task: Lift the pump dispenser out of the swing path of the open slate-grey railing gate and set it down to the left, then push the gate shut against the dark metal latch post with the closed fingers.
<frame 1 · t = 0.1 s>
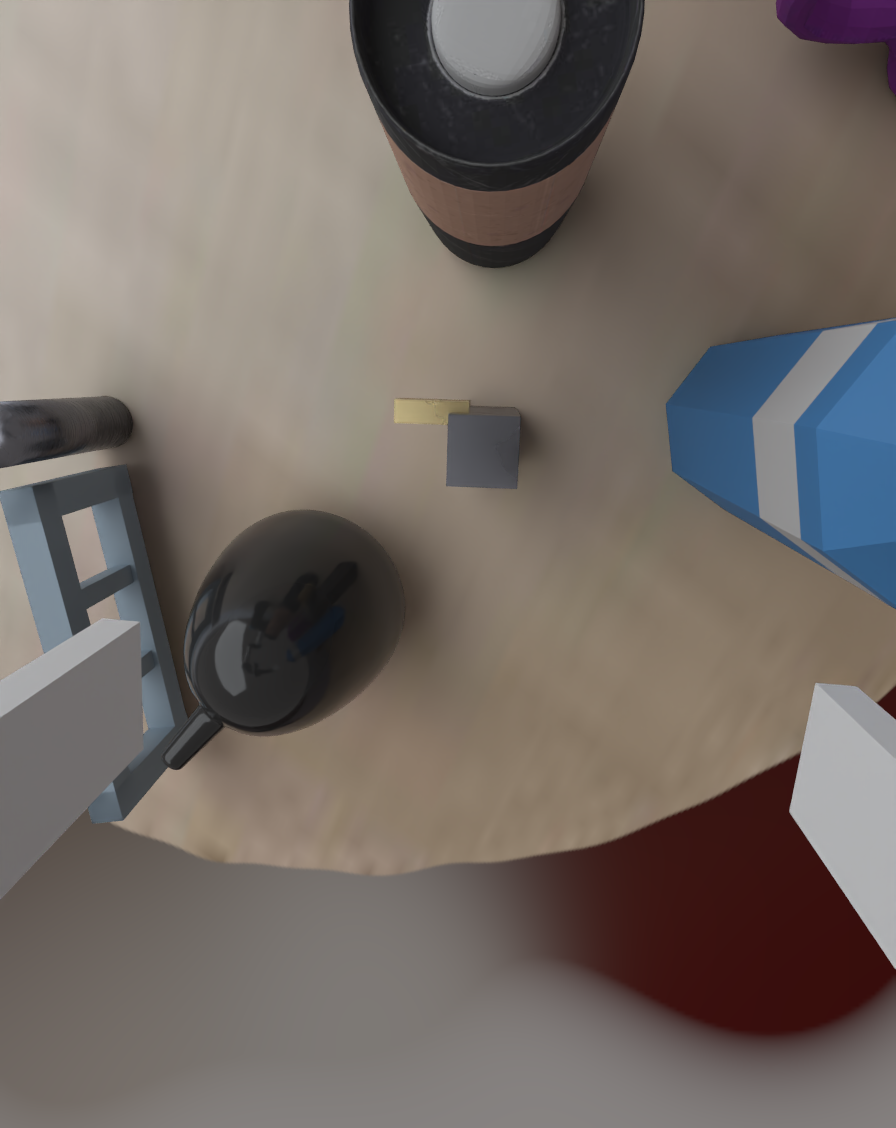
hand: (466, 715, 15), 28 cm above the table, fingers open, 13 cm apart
latch post: (486, 434, 41), on the table
hinge post: (107, 422, 42), on the table
water bottle: (750, 424, 40), on the table
gate: (110, 633, 40), point 5 cm above the table, hinge at 80.0°
travel mug: (495, 194, 38), on the table
pump dispenser: (324, 586, 44), on the table
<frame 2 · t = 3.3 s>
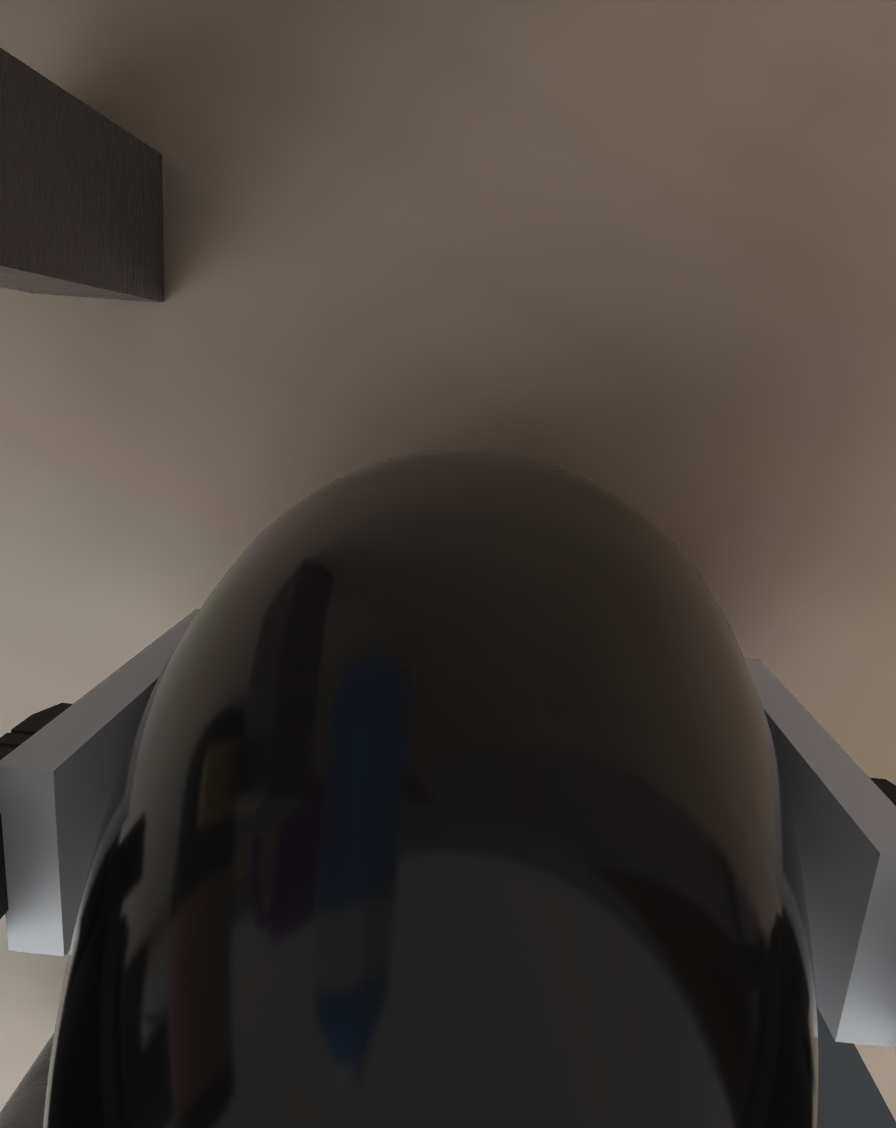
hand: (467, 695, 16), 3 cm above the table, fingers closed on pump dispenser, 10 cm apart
latch post: (95, 225, 17), on the table
hinge post: (124, 1015, 22), on the table
pump dispenser: (472, 646, 19), on the table, touching gripper
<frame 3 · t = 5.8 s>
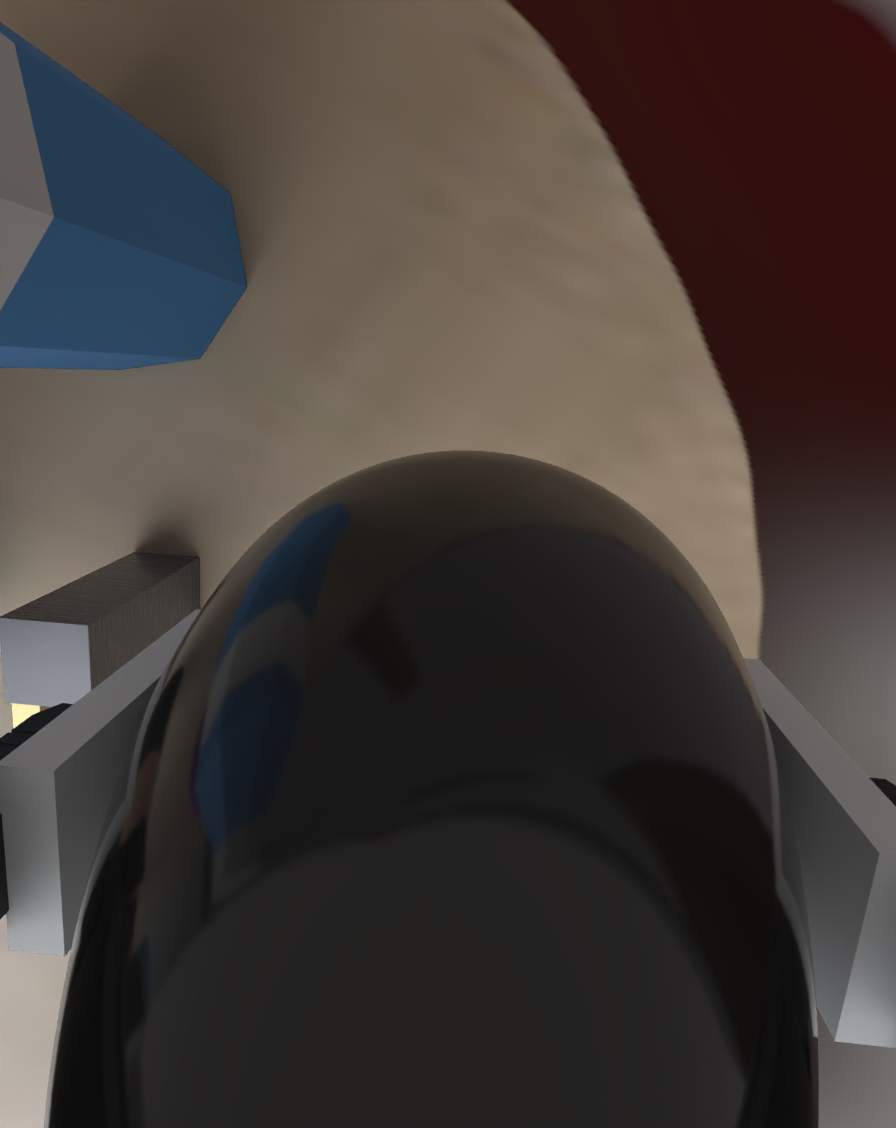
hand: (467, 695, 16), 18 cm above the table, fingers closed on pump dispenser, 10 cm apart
latch post: (167, 587, 34), on the table
water bottle: (138, 256, 31), on the table
pump dispenser: (472, 647, 19), point 15 cm above the table, touching gripper
when the fingers open (4 cm above the table, at t = 8.5 s): pump dispenser stays where it is, on the table.
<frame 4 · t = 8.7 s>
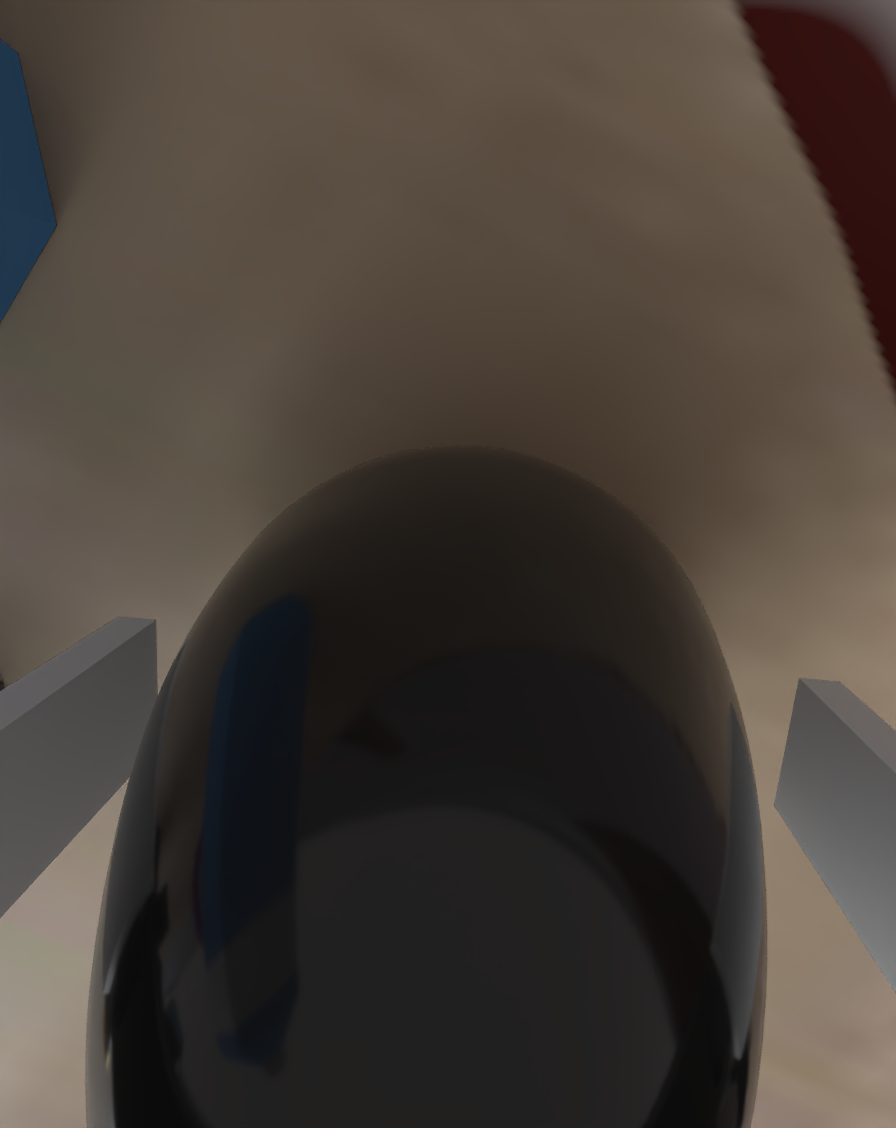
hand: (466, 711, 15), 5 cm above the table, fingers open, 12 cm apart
pump dispenser: (468, 633, 20), on the table
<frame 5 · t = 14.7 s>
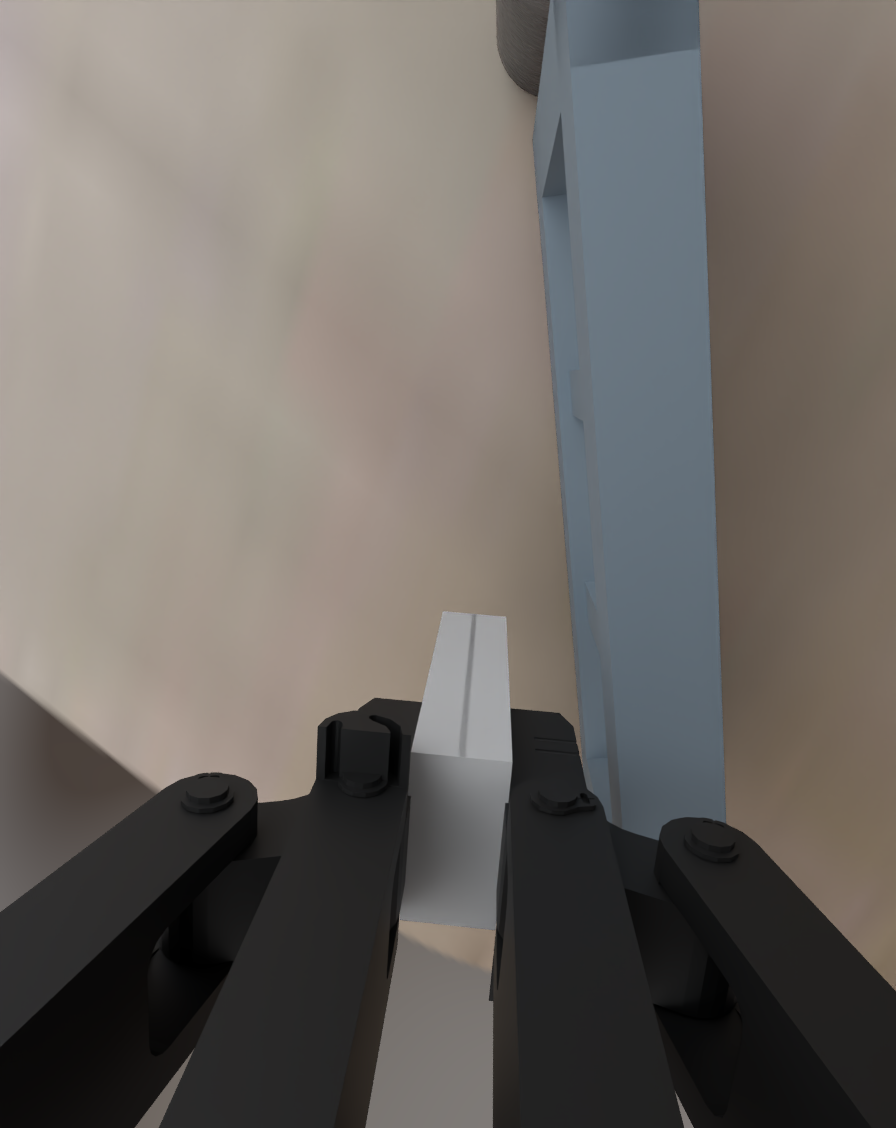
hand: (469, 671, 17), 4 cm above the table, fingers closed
hinge post: (556, 31, 18), on the table
gate: (617, 519, 15), point 5 cm above the table, hinge at 78.7°, touching gripper
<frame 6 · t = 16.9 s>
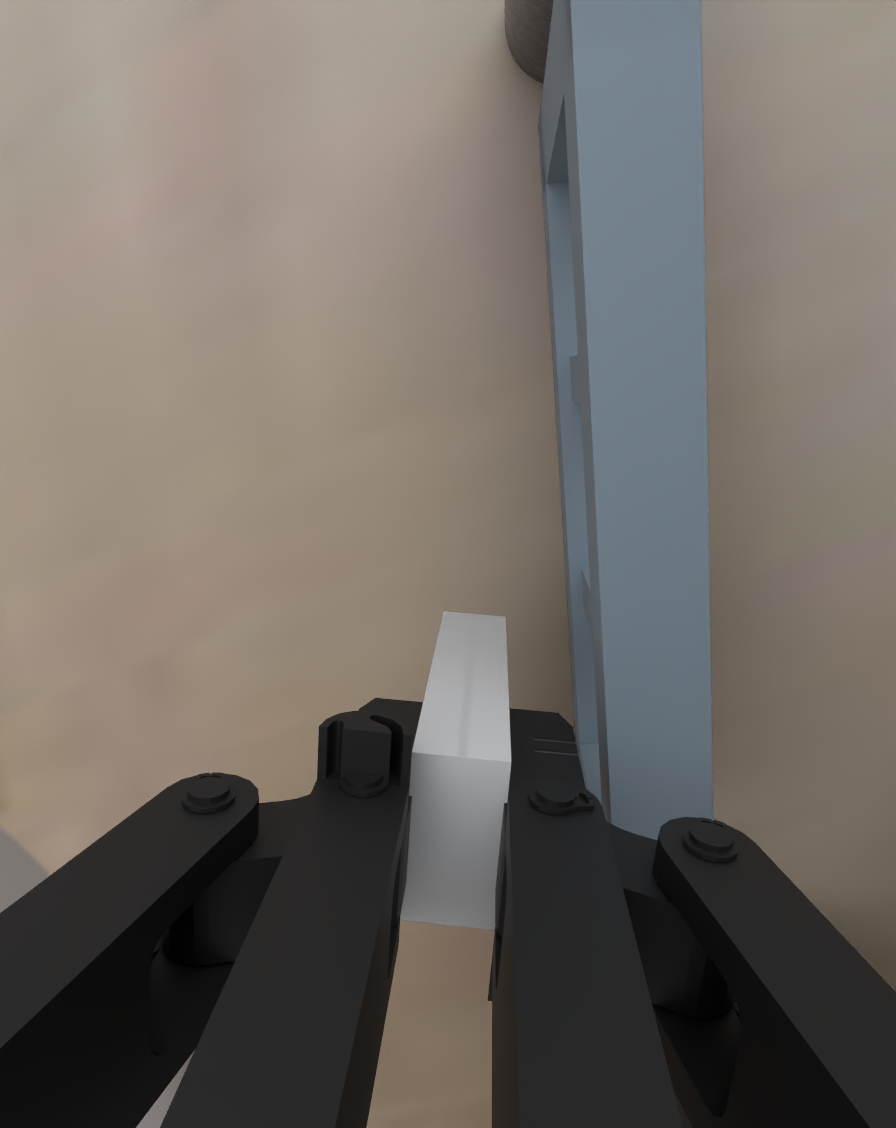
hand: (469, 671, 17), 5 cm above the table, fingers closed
hinge post: (564, 19, 18), on the table
gate: (613, 503, 15), point 5 cm above the table, hinge at 34.6°, touching gripper
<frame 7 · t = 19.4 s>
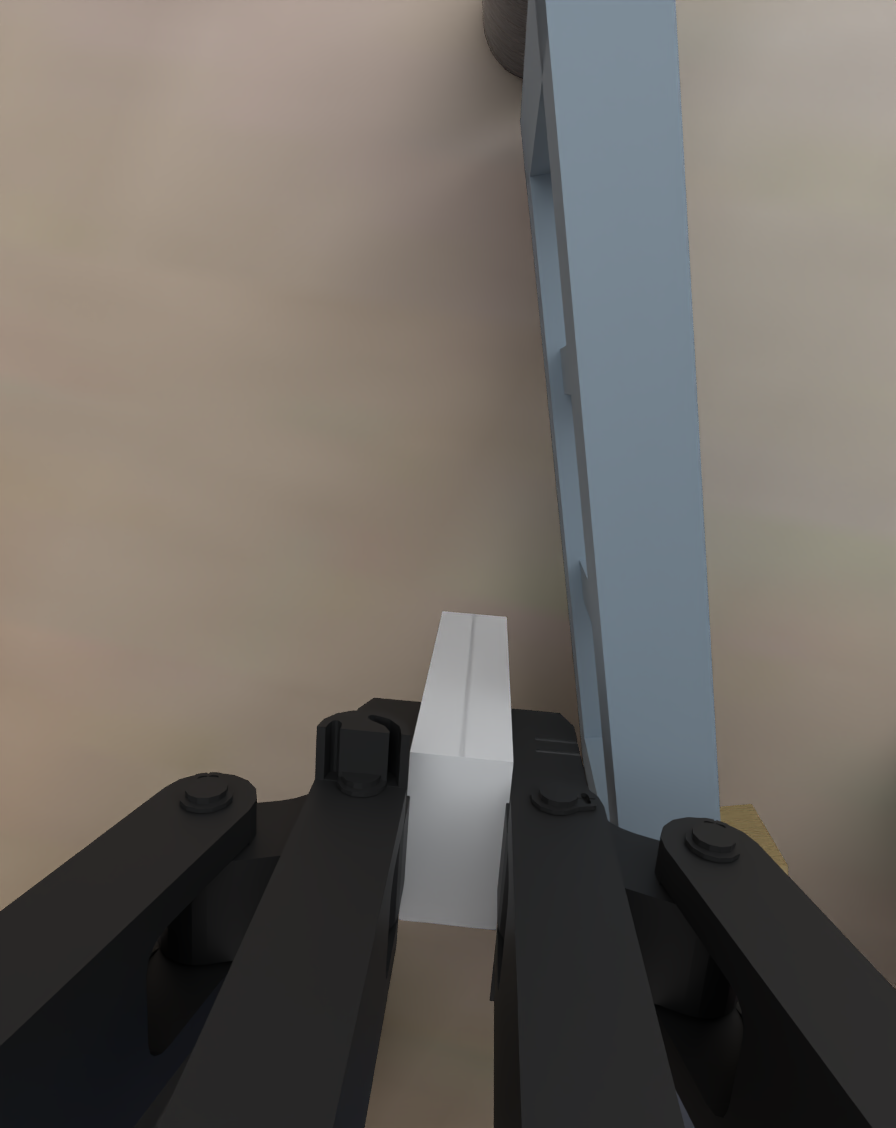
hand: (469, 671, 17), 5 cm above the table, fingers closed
latch post: (619, 809, 23), on the table
hinge post: (542, 14, 18), on the table
gate: (608, 492, 15), point 5 cm above the table, hinge at 0.5°, touching gripper
pump dispenser: (205, 949, 25), on the table
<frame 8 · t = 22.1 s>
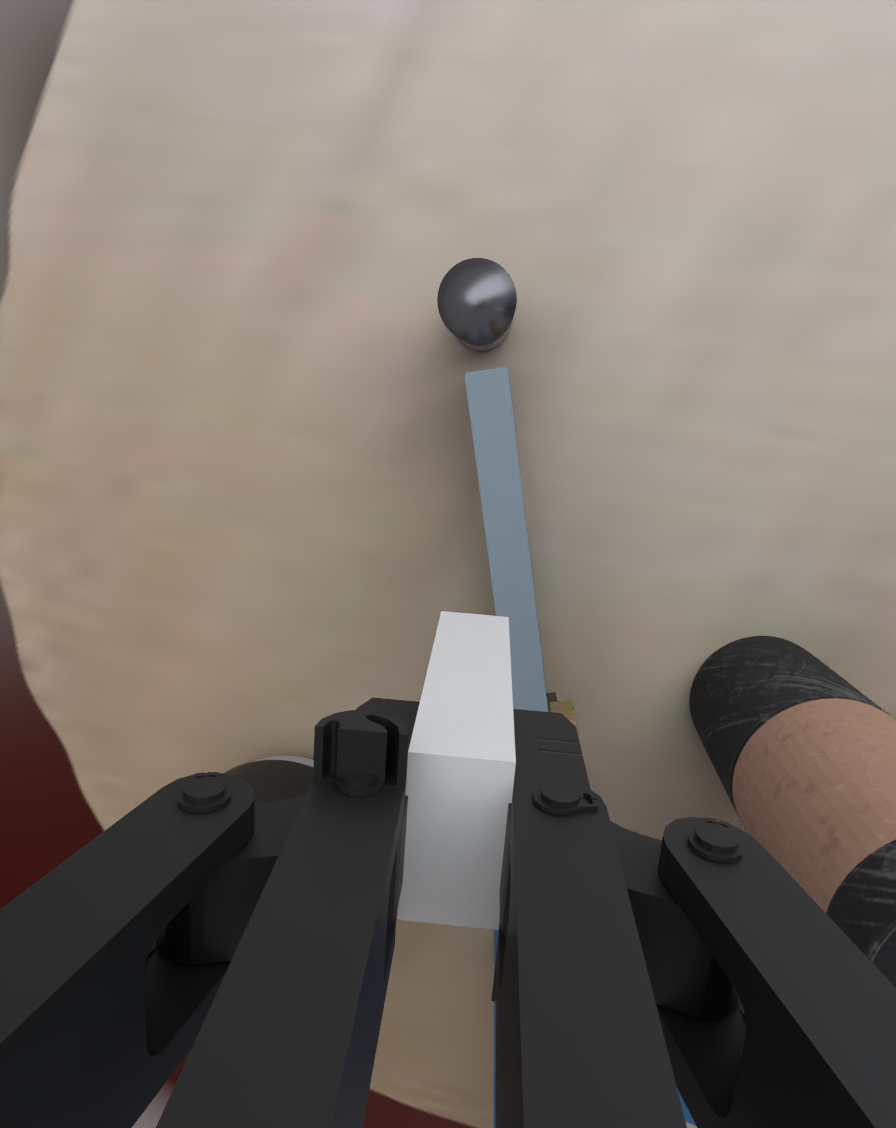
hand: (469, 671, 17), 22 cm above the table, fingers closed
latch post: (530, 720, 41), on the table
hinge post: (482, 320, 37), on the table
water bottle: (574, 935, 45), on the table
gate: (510, 559, 34), point 5 cm above the table, hinge at -0.2°
travel mug: (755, 696, 40), on the table
pump dispenser: (297, 806, 44), on the table
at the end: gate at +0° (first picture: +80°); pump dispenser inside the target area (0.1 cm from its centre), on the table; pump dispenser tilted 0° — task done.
